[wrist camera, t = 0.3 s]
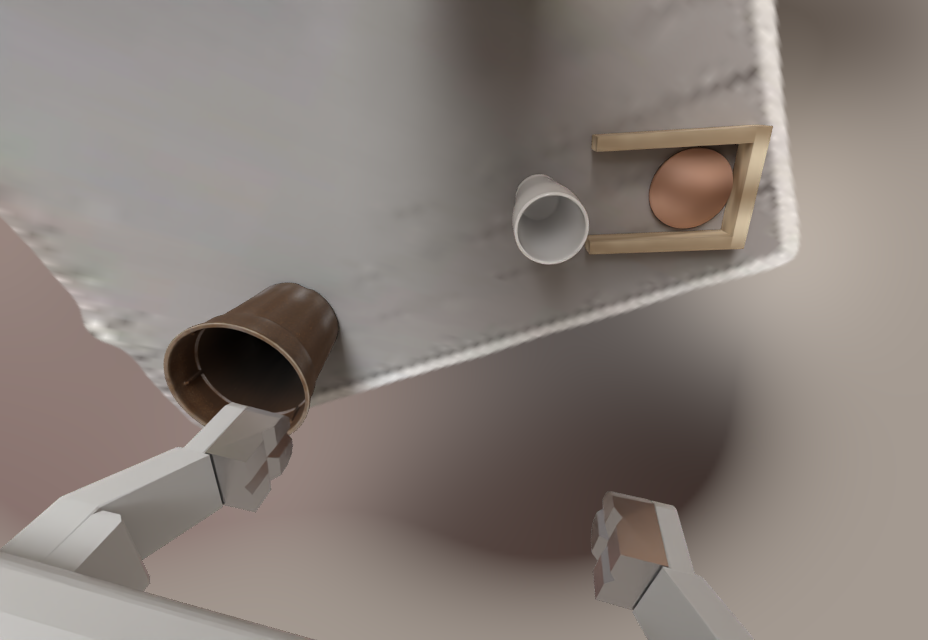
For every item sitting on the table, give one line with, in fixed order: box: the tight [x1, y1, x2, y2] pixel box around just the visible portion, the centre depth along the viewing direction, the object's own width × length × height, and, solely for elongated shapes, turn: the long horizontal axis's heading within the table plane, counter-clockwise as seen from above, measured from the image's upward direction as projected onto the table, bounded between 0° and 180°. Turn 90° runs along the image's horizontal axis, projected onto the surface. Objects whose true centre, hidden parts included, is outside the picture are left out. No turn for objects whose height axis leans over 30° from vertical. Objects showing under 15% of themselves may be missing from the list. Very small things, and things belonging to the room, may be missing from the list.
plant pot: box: [164, 283, 338, 435], centre depth 55 cm, size 16×16×16 cm
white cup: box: [512, 174, 589, 265], centre depth 45 cm, size 7×7×15 cm
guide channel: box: [585, 125, 773, 255], centre depth 49 cm, size 13×18×3 cm
